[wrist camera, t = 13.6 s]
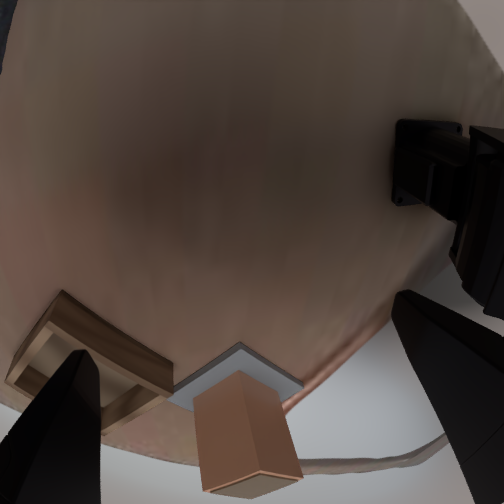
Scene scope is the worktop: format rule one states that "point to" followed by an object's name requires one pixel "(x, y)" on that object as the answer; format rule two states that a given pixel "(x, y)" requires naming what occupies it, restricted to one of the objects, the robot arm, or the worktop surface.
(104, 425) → the brown wooden tray
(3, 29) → the dark slate chunk
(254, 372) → the rubber mat
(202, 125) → the worktop surface
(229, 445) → the lidded terracotta box
